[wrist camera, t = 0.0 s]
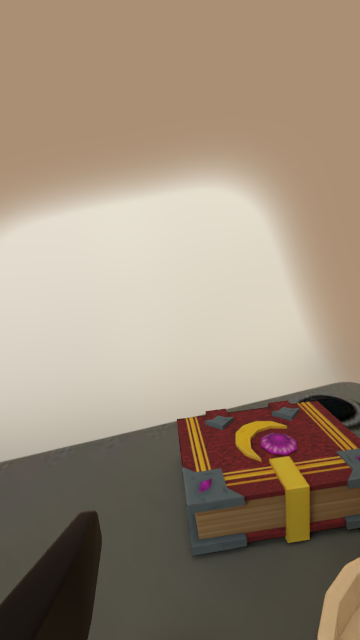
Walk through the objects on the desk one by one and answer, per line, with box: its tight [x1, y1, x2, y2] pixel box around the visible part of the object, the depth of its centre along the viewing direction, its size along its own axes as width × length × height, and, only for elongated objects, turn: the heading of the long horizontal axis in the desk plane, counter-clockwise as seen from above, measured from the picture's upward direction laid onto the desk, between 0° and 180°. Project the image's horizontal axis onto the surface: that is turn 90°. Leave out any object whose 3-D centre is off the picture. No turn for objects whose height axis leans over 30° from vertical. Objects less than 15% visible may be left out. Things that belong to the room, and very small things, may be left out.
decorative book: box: [177, 401, 360, 556], centre depth 26 cm, size 11×16×5 cm
